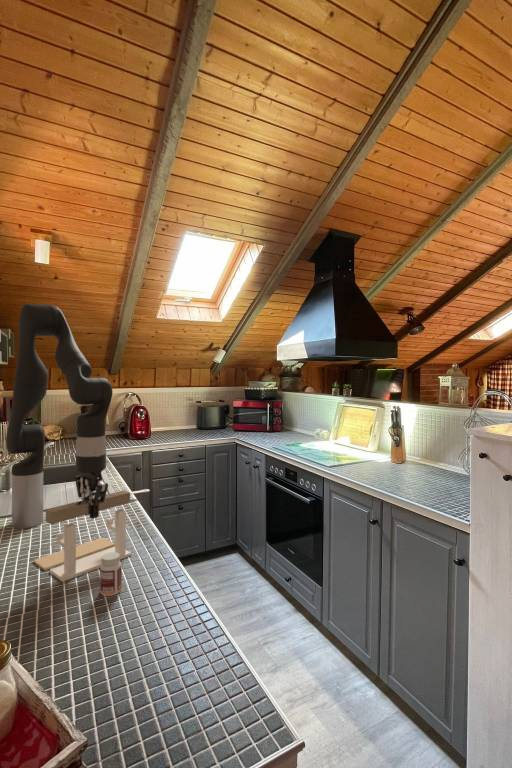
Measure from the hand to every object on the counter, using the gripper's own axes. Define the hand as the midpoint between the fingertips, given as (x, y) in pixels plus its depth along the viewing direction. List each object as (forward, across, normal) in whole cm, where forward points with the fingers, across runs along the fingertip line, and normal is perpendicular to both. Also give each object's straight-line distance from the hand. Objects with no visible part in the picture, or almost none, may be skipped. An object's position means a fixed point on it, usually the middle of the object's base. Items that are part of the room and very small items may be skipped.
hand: (90, 515), depth 107 cm
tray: (+13, -8, 0) cm, 15 cm away
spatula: (+13, -40, +31) cm, 53 cm away
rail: (-1, 0, 0) cm, 1 cm away
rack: (+13, +1, 0) cm, 13 cm away
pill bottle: (+13, +17, -4) cm, 22 cm away
